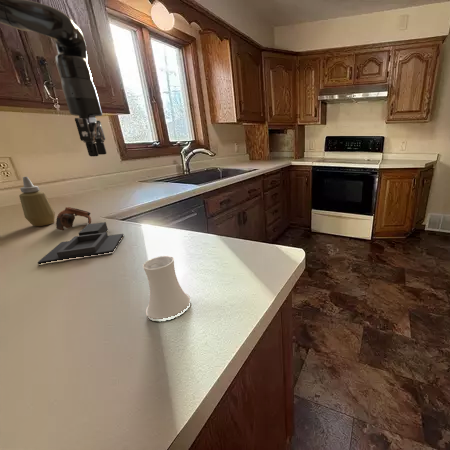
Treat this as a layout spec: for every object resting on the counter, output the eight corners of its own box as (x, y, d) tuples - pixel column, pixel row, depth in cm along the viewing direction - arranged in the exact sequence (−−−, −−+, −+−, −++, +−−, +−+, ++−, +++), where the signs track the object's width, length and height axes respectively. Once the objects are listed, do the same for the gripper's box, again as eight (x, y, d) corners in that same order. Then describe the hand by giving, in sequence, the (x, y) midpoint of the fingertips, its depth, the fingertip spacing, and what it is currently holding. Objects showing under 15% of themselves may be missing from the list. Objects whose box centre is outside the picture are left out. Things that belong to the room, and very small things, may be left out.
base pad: (38, 265, 63) (35, 257, 62) (62, 245, 75) (59, 237, 74) (113, 253, 69) (110, 245, 68) (123, 236, 81) (122, 229, 80)
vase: (186, 319, 44) (176, 270, 40) (140, 325, 42) (125, 276, 39) (194, 294, 51) (186, 250, 47) (154, 299, 49) (143, 254, 46)
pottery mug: (58, 226, 92) (66, 205, 93) (89, 233, 96) (96, 213, 97) (45, 228, 81) (54, 204, 82) (80, 235, 86) (89, 213, 87)
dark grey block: (81, 241, 77) (78, 233, 76) (90, 232, 85) (88, 224, 84) (100, 239, 79) (97, 230, 78) (108, 229, 87) (105, 222, 86)
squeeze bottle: (27, 229, 88) (6, 179, 82) (30, 224, 94) (10, 176, 88) (57, 224, 93) (39, 176, 87) (58, 219, 99) (42, 174, 93)
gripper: (75, 100, 76) (91, 154, 81) (54, 93, 64) (74, 157, 69) (104, 101, 79) (118, 153, 84) (89, 94, 66) (106, 156, 72)
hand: (98, 155), depth 77 cm, fingers open, 8 cm apart
